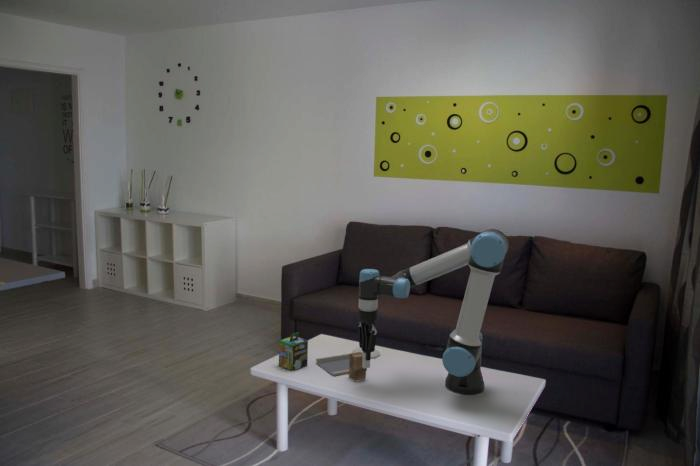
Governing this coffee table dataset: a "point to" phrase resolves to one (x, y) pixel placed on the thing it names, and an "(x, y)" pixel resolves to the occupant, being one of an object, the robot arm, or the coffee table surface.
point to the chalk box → (293, 352)
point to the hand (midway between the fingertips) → (366, 367)
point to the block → (356, 367)
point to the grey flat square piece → (335, 364)
